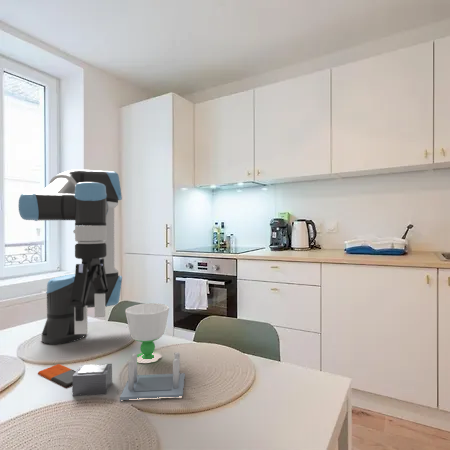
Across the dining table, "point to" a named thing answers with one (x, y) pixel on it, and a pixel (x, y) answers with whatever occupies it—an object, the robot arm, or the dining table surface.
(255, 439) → the dining table surface
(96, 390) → the grey block
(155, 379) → the grey fixture stand
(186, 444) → the dining table surface
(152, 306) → the cup
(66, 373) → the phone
